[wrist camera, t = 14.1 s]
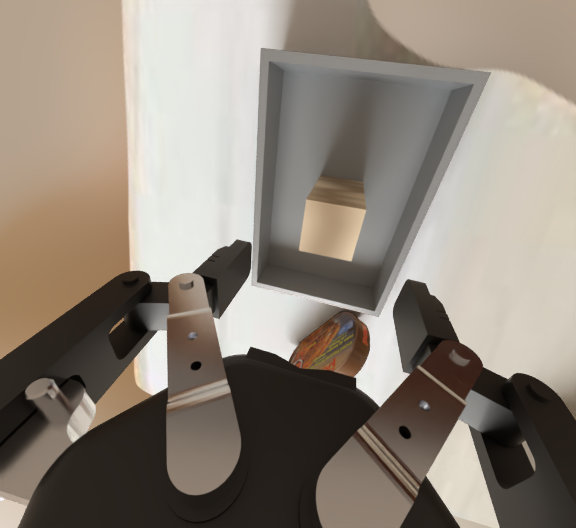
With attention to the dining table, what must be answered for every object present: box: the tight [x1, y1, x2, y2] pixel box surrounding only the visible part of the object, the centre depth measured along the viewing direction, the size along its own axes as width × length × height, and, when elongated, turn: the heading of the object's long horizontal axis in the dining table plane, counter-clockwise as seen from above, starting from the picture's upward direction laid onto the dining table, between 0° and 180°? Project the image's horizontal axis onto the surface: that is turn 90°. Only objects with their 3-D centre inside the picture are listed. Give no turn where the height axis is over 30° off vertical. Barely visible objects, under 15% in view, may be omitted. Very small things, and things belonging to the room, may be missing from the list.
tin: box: [289, 312, 370, 377], centre depth 32 cm, size 15×3×8 cm, turn 145°
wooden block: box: [299, 175, 366, 261], centre depth 20 cm, size 4×4×8 cm
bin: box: [252, 48, 491, 317], centre depth 22 cm, size 14×20×5 cm
